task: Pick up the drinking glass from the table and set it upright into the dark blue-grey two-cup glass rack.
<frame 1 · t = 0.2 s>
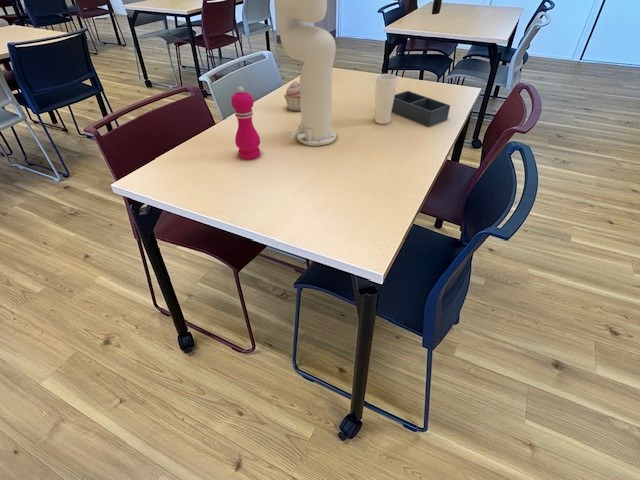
hand: (423, 11, 124), 31 cm above the table, tool pointing down, fingers open, 9 cm apart
glass rack: (416, 114, 137), on the table
pepper mill: (249, 155, 114), on the table
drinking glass: (382, 122, 133), on the table
cupcake: (297, 108, 143), on the table
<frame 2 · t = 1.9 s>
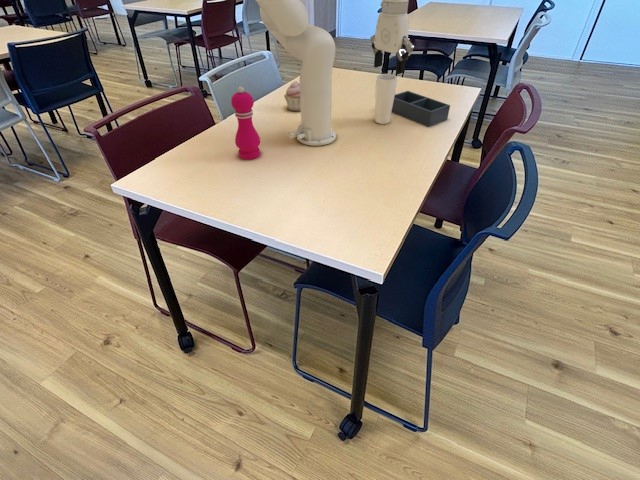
hand: (388, 69, 122), 17 cm above the table, tool pointing down, fingers open, 9 cm apart
nothing on the table moved.
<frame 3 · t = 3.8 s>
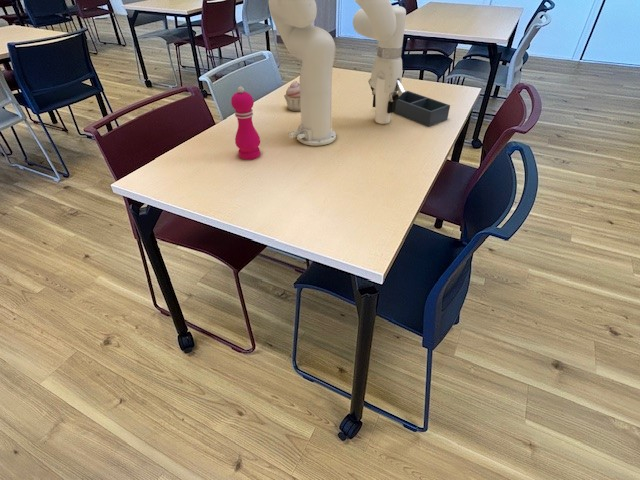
hand: (383, 108, 130), 4 cm above the table, tool pointing down, fingers closed on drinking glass, 6 cm apart
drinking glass: (382, 122, 133), on the table, touching gripper
everything else where it was.
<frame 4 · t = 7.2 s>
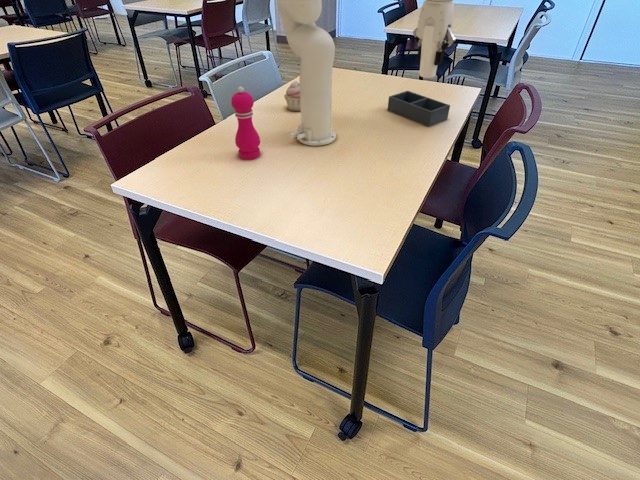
hand: (429, 61, 122), 19 cm above the table, tool pointing down, fingers closed on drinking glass, 6 cm apart
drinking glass: (426, 76, 125), point 14 cm above the table, touching gripper
everything else where it was.
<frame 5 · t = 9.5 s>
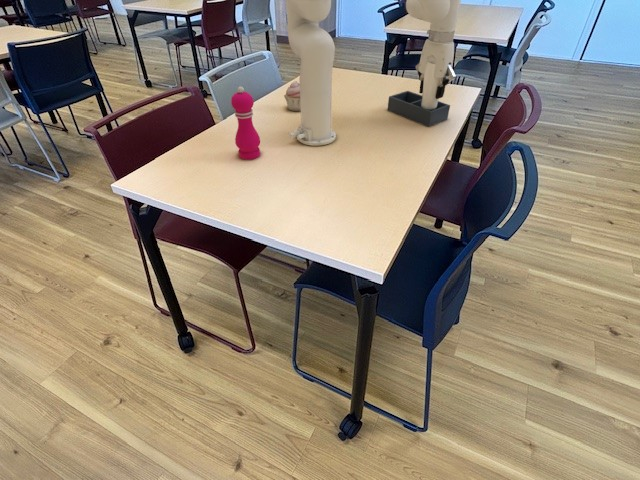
hand: (430, 94, 129), 8 cm above the table, tool pointing down, fingers closed on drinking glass, 6 cm apart
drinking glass: (428, 108, 132), point 4 cm above the table, touching gripper
everything else where it was.
when the fingers open (5 cm above the table, at t = 10.9 s): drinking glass stays where it is, resting on glass rack.
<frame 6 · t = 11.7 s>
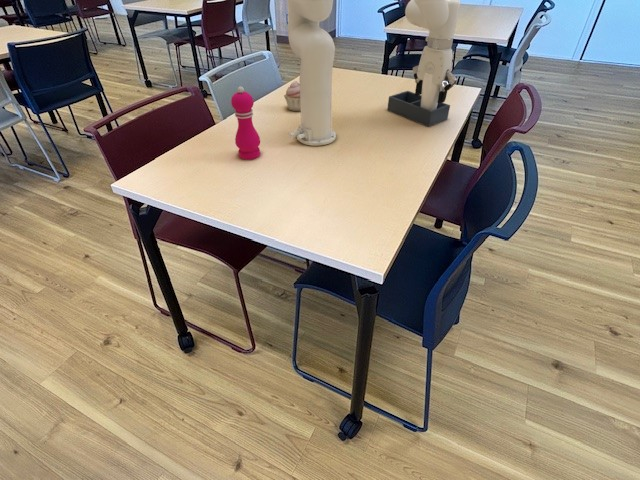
hand: (429, 98, 129), 7 cm above the table, tool pointing down, fingers open, 9 cm apart
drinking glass: (426, 117, 134), point 1 cm above the table, touching glass rack
everything else where it was.
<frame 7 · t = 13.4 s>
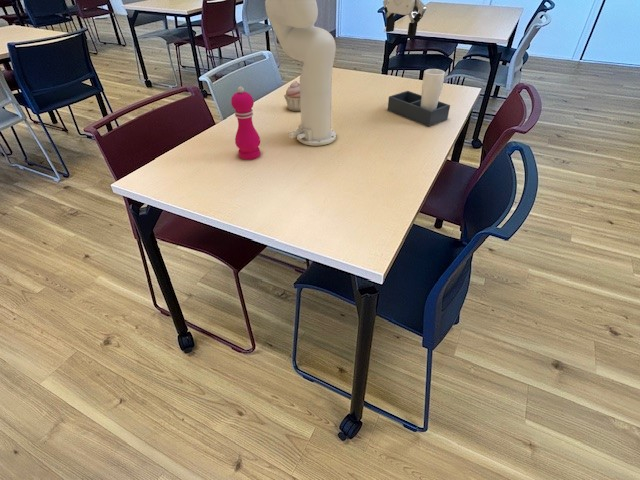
hand: (400, 34, 123), 26 cm above the table, tool pointing down, fingers open, 9 cm apart
nothing on the table moved.
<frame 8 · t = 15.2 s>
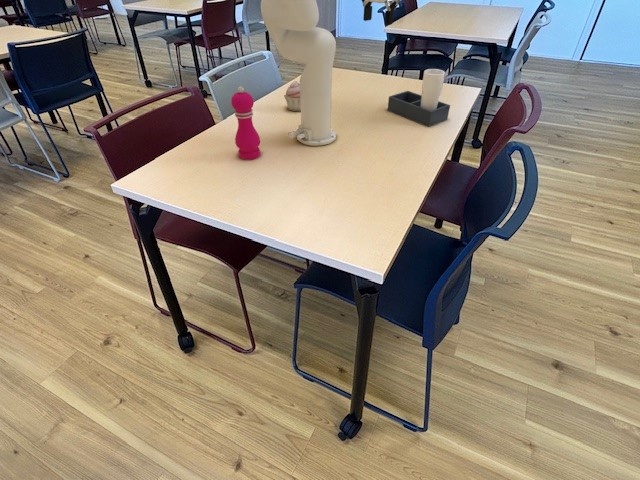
hand: (377, 22, 125), 28 cm above the table, tool pointing down, fingers open, 9 cm apart
nothing on the table moved.
at the end: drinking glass 0.1 cm from the target spot in the glass rack, point 0.6 cm above the glass rack's base; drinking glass tilted 0°; the gripper is holding nothing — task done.
